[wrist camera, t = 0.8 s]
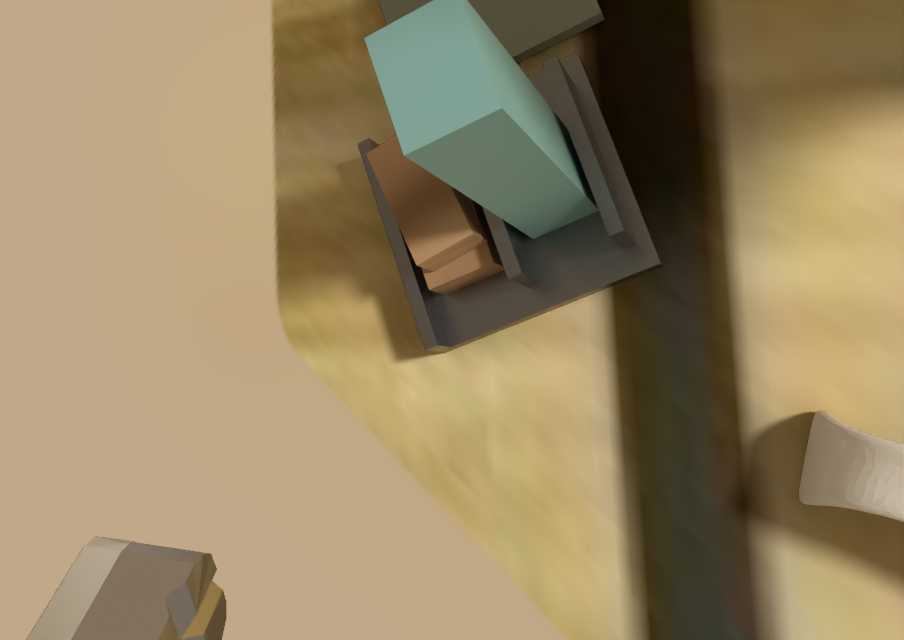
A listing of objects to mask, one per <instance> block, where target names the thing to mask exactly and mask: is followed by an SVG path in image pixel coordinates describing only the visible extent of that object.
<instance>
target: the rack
mask: <svg viewBox="0 0 904 640" xmlns="http://www.w3.org/2000/svg"><path fill="white" fill-rule="evenodd" d="M542 63H543V66H544V68H543V69H541V70H539V71H537V72H535V73H533V74H531V75H529V76H527V77H528V79H529V80H530V81H531V82H532V84H533V85H534V86H535V88H536V89H537V90H538V91H539V93H540V94H541V95H542V97H543V98H544V99H545V100H546V102H547V103H548V104H549V106H550V107H551V108H552V109H553V111H554V112H555V113H556V115H557V116H558V117H559V118H560V120H561V121H562V122H563V123H564V125H565V126H566V127H567V129H568V131H569V133H570V136H571V139H572V141H573V144H574V146H575V149H576V152H577V154H578V157H579V159H580V162H581V165H582V167H583V170H584V172H585V175H586V178H587V180H588V183H589V185H590V188H591V191H592V193H593V196H594V198H595V201H596V204H597V206H598V209H599V211H597V212H595V213H592V214H590V215H588V216H585V217H583V218H581V219H578V220H576V221H574V222H571V223H569V224H567V225H564V226H562V227H560V228H557V229H555V230H553V231H551V232H548V233H546V234H544V235H541V236H539V237H537V238H534V239H533V238H531V237H529V236H528V235H526V234H525V233H523V232H522V231H520V230H519V229H517V228H515V227H514V226H512V225H511V224H509V223H508V222H506V221H505V220H503V219H502V218H500V217H498V216H497V215H495V214H494V213H492V212H491V211H489V210H488V209H486V208H484V207H483V206H482V207H483V210H484V213H485V216H486V219H487V222H488V224H489V227H490V230H491V233H492V236H493V238H494V241H495V244H496V247H497V250H498V252H499V255H500V258H501V261H502V264H503V267H504V269H505V270H503V271H500V272H498V273H496V274H493V275H491V276H489V277H486V278H484V279H481V280H479V281H477V282H474V283H472V284H470V285H467V286H465V287H463V288H460V289H458V290H455V291H453V292H451V293H448V294H446V295H444V294H441V293H437V292H434V291H431V290H429V288H428V286H427V283H426V280H425V277H424V274H423V271H422V268H421V267H419V266H417V265H416V263H415V261H414V259H413V257H412V254H411V252H410V250H409V248H408V245H407V243H406V241H405V239H404V237H403V234H402V232H401V230H400V228H399V226H398V223H397V221H396V219H395V217H394V215H393V212H392V210H391V208H390V206H389V204H388V201H387V199H386V197H385V195H384V193H383V190H382V188H381V186H380V184H379V181H378V179H377V177H376V175H375V173H374V170H373V168H372V166H371V164H370V162H369V159H368V157H367V155H366V154H367V153H368V152H370V151H371V150H373V149H375V148H376V147H378V146H379V144H377V143H376V142H374V141H373V140H371V139H370V138H369V139H367V140H365V141H363V142H361V143H359V144H358V147H359V150H360V153H361V156H362V159H363V162H364V165H365V168H366V171H367V174H368V177H369V180H370V183H371V186H372V190H373V193H374V196H375V199H376V202H377V205H378V208H379V211H380V214H381V217H382V220H383V223H384V226H385V229H386V232H387V235H388V238H389V241H390V244H391V247H392V250H393V253H394V256H395V260H396V263H397V266H398V269H399V272H400V275H401V278H402V281H403V284H404V287H405V290H406V293H407V296H408V299H409V302H410V305H411V308H412V311H413V314H414V317H415V320H416V323H417V326H418V330H419V333H420V336H421V339H422V342H423V345H424V348H425V351H433V352H441V353H446V352H448V351H451V350H453V349H456V348H458V347H461V346H463V345H466V344H468V343H471V342H473V341H476V340H478V339H481V338H483V337H486V336H488V335H491V334H493V333H496V332H498V331H501V330H503V329H506V328H508V327H511V326H513V325H516V324H518V323H521V322H523V321H526V320H528V319H531V318H533V317H536V316H538V315H541V314H543V313H546V312H548V311H551V310H553V309H556V308H559V307H561V306H564V305H566V304H569V303H571V302H574V301H576V300H579V299H581V298H584V297H586V296H589V295H591V294H594V293H596V292H599V291H601V290H604V289H606V288H609V287H611V286H614V285H616V284H619V283H621V282H624V281H626V280H629V279H631V278H634V277H636V276H639V275H641V274H644V273H646V272H649V271H651V270H654V269H656V268H659V267H661V266H663V264H662V262H661V259H660V257H659V254H658V252H657V249H656V247H655V244H654V242H653V239H652V237H651V234H650V232H649V229H648V227H647V224H646V222H645V219H644V217H643V214H642V211H641V209H640V206H639V204H638V201H637V199H636V196H635V194H634V191H633V189H632V186H631V184H630V181H629V179H628V176H627V174H626V171H625V169H624V166H623V164H622V161H621V158H620V156H619V153H618V151H617V148H616V146H615V143H614V141H613V138H612V136H611V133H610V131H609V128H608V126H607V123H606V121H605V118H604V116H603V113H602V111H601V108H600V105H599V103H598V100H597V98H596V95H595V93H594V90H593V88H592V85H591V83H590V80H589V78H588V75H587V73H586V70H585V68H584V65H583V63H582V60H581V58H580V56H579V54H578V53H577V52H576V53H574V54H572V55H570V56H568V57H566V58H564V59H562V60H559V59H558V57H557V56H556V55H555V56H553V57H551V58H549V59H547V60H545V61H543V62H542Z"/></svg>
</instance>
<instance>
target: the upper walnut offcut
mask: <svg viewBox="0 0 904 640" xmlns="http://www.w3.org/2000/svg"><path fill="white" fill-rule="evenodd" d="M366 155H367V157H368V159H369V162H370V164H371V166H372V168H373V170H374V173H375V175H376V177H377V179H378V181H379V184H380V186H381V188H382V190H383V193H384V195H385V197H386V199H387V201H388V204H389V206H390V208H391V210H392V212H393V215H394V217H395V219H396V221H397V223H398V226H399V228H400V230H401V232H402V234H403V237H404V239H405V241H406V243H407V245H408V248H409V250H410V252H411V254H412V257H413V259H414V261H415V263H416V265H417V266H419V267H422V268H425V269H428V270H430V271H433V272H435V271H437V270H438V269H440V268H442V267H444V266H445V265H447V264H449V263H451V262H453V261H454V260H456V259H458V258H460V257H461V256H463V255H465V254H467V253H468V252H470V251H472V250H474V249H476V248H477V247H479V246H481V245H483V244H484V243H486V242H488V240H487V238H486V236H485V234H484V232H483V229H482V227H481V225H480V223H479V221H478V219H477V217H476V215H475V213H474V211H473V209H472V206H471V204H470V202H469V200H468V198H467V196H466V195H464V194H463V193H461V192H460V191H458V190H456V189H455V188H453V187H452V186H450V185H449V184H447V183H446V182H444V181H442V180H441V179H439V178H438V177H436V176H435V175H433V174H432V173H430V172H428V171H427V170H425V169H424V168H422V167H421V166H419V165H418V164H416V163H414V162H413V161H411V160H410V159H408V158H407V157H405V156H404V155H403V152H402V149H401V146H400V143H399V140H398V137H397V135H395V136H394V137H392V138H391V139H389V140H387V141H386V142H384V143H383V144H381V145H379V146H378V147H376V148H375V149H373V150H371V151H370V152H368V153H367V154H366Z"/></svg>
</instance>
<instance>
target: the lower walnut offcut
mask: <svg viewBox="0 0 904 640" xmlns="http://www.w3.org/2000/svg"><path fill="white" fill-rule="evenodd" d="M467 198H468V200H469V202H470V204H471V206H472V209H473V211H474V213H475V215H476V217H477V219H478V221H479V223H480V225H481V227H482V229H483V232H484V234H485V236H486V238H487V240H488V242H486V243H484V244H483V245H481V246H479V247H477V248H476V249H474V250H472V251H470V252H468V253H467V254H465V255H463V256H461V257H460V258H458V259H456V260H454V261H453V262H451V263H449V264H447V265H445V266H444V267H442V268H440V269H438V270H437V271H435V272H433V271H430V270H428V269H425V268H422V267H421V268H422V271H423V274H424V277H425V280H426V283H427V286H428V288H429V290H431V291H434V292H437V293H441V294H444V295H446V294H448V293H451V292H453V291H455V290H458V289H460V288H463V287H465V286H467V285H470V284H472V283H474V282H477V281H479V280H481V279H484V278H486V277H489V276H491V275H493V274H496V273H498V272H500V271H503V270H505V269H504V267H503V264H502V261H501V258H500V255H499V252H498V250H497V247H496V244H495V241H494V238H493V236H492V233H491V230H490V227H489V224H488V222H487V219H486V216H485V213H484V210H483V207H482V206H481V205H480V204H478V203H477V202H475V201H474V200H472V199H470V198H469V197H467Z"/></svg>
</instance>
